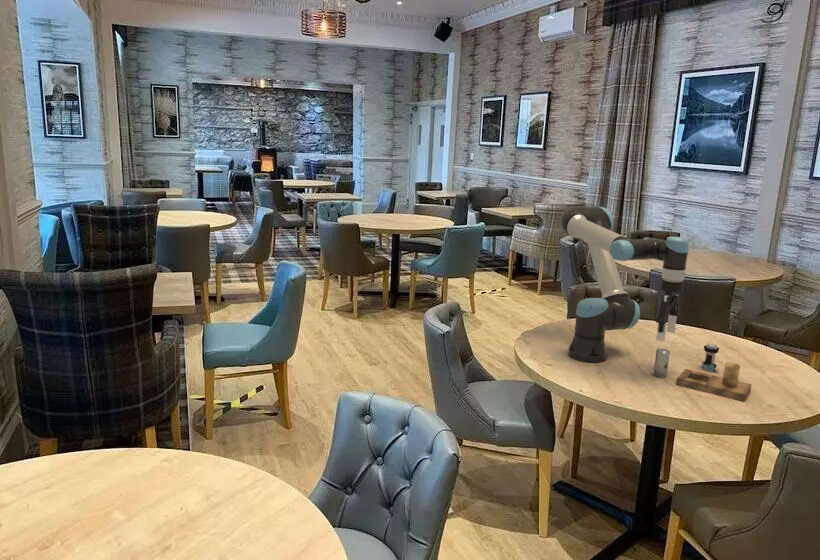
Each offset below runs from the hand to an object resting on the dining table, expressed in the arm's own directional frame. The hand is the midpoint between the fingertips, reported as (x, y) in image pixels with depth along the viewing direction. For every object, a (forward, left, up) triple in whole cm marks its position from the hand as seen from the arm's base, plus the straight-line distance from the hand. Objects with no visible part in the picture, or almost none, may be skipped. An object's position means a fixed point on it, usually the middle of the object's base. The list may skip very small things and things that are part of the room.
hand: (665, 336), depth 221 cm
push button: (+13, +20, -16) cm, 29 cm away
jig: (+18, +1, -16) cm, 24 cm away
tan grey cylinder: (0, 0, -16) cm, 16 cm away
